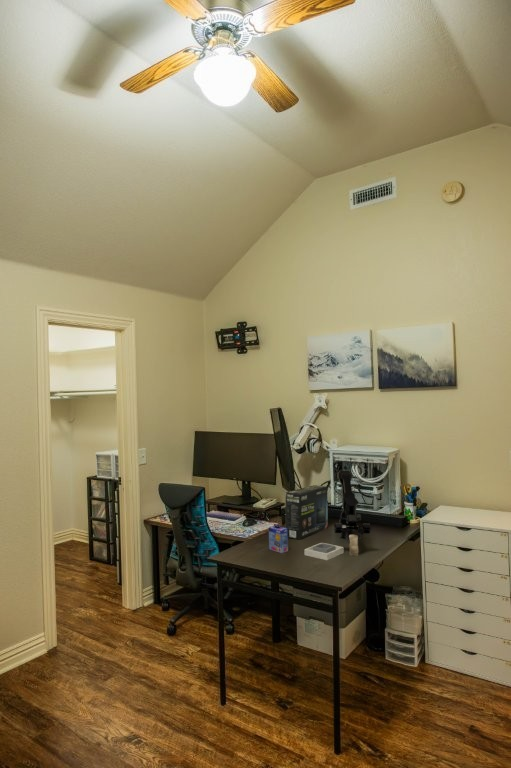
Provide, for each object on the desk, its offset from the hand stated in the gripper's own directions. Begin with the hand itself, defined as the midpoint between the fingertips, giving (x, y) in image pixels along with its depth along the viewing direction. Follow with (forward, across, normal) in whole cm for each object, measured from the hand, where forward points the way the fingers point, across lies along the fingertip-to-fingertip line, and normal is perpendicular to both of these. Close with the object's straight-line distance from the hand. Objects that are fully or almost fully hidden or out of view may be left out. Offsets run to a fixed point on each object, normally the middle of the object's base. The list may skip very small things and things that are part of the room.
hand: (353, 542), depth 248 cm
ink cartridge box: (-1, -40, +10) cm, 41 cm away
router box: (-28, -24, +38) cm, 53 cm away
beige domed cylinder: (+4, 0, +6) cm, 7 cm away
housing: (+3, -15, +6) cm, 17 cm away
